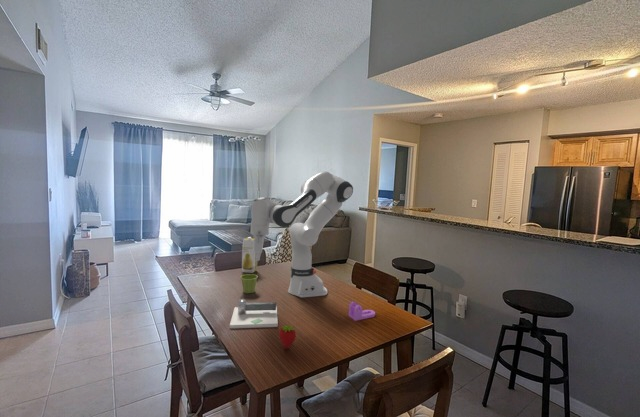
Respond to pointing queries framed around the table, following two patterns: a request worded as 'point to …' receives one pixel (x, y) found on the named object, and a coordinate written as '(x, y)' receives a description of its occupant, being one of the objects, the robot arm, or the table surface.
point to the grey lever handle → (254, 306)
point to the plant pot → (249, 282)
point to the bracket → (359, 312)
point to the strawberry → (287, 336)
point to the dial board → (254, 319)
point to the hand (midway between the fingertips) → (258, 257)
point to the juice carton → (248, 256)
